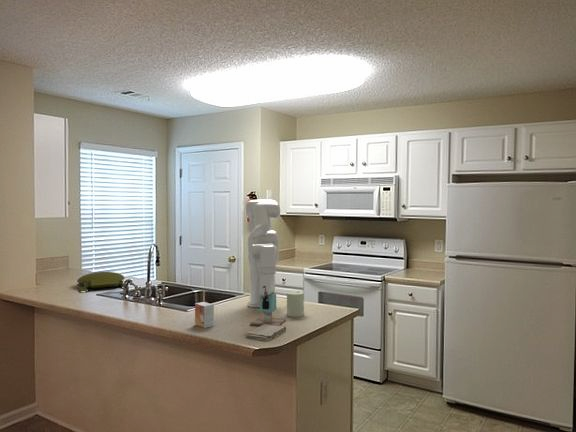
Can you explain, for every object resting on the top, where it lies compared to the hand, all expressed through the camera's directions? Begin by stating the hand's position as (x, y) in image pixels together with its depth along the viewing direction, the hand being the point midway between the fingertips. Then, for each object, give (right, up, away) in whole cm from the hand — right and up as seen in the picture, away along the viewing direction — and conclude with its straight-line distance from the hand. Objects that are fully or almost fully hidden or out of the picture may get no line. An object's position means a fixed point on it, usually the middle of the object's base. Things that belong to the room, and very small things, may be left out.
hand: (268, 307), depth 221 cm
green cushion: (-120, -5, +96) cm, 154 cm away
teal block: (0, -2, 0) cm, 2 cm away
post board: (0, -8, +1) cm, 8 cm away
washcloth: (0, -9, -17) cm, 20 cm away
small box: (-31, -8, -3) cm, 32 cm away
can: (+13, -7, +17) cm, 23 cm away
